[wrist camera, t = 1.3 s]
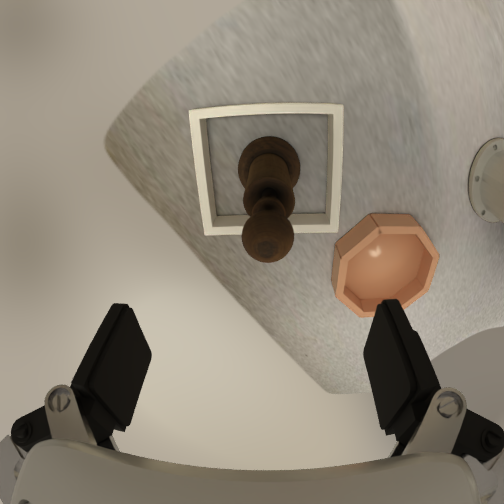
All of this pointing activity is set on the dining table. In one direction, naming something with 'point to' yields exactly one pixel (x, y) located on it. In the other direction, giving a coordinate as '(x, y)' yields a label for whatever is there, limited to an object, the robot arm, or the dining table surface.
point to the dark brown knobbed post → (268, 197)
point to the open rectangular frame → (235, 223)
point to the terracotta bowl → (383, 263)
